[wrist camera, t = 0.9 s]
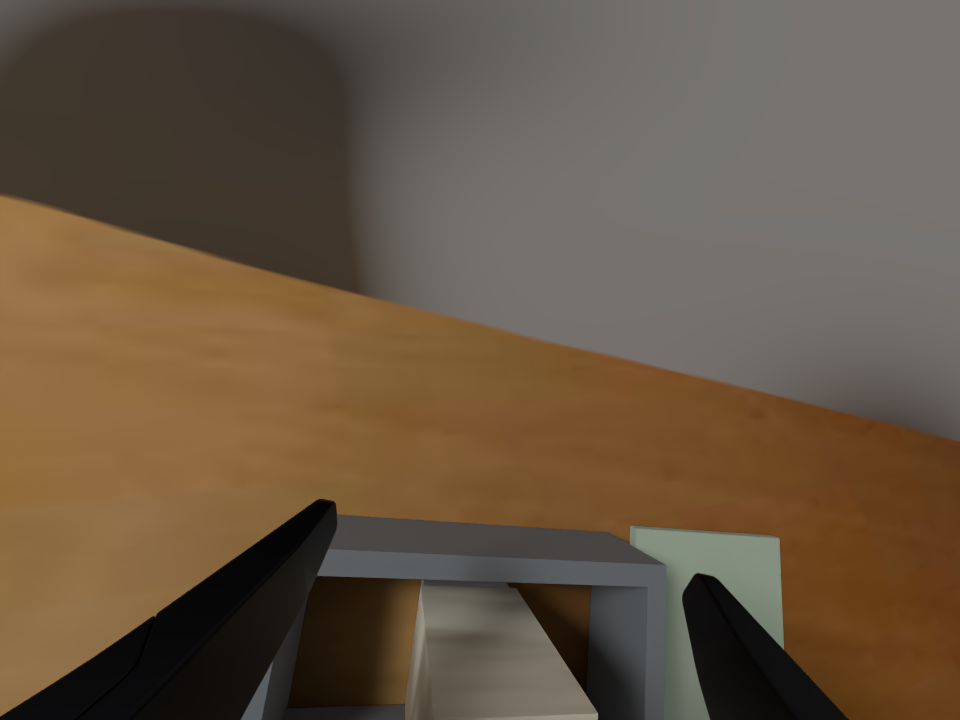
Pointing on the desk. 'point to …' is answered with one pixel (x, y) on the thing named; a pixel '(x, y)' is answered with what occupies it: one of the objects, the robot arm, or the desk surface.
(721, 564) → the sage mat
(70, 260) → the desk surface
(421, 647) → the ash block
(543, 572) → the slotted box
